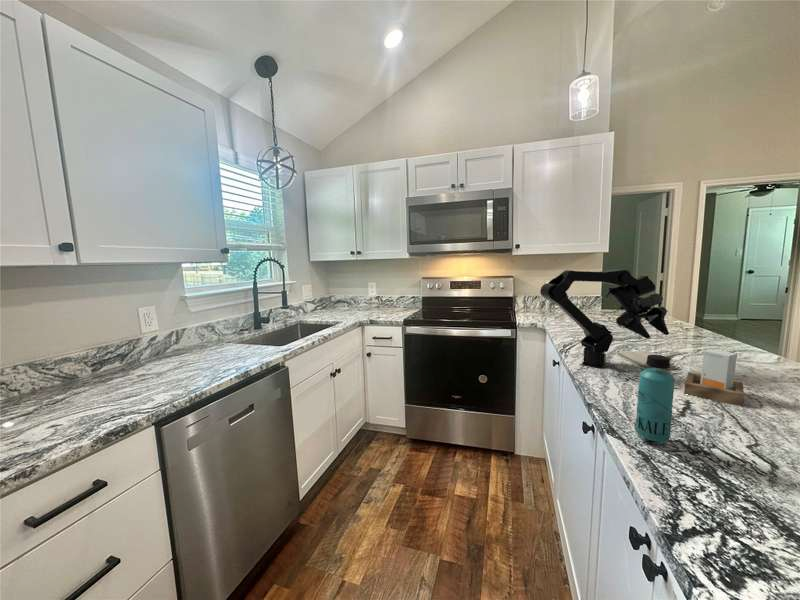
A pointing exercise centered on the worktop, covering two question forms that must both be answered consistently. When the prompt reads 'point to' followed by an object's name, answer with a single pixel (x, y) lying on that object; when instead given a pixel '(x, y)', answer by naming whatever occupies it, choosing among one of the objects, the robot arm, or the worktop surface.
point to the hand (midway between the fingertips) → (658, 336)
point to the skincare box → (718, 369)
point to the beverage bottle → (655, 400)
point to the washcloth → (641, 358)
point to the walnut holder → (714, 390)
